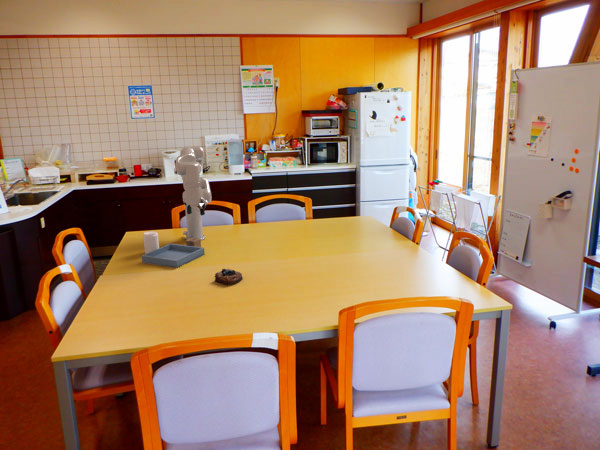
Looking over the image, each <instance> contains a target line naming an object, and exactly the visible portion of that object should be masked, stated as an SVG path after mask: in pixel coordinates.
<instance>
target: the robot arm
mask: <svg viewBox="0 0 600 450" xmlns="http://www.w3.org/2000/svg"><path fill="white" fill-rule="evenodd" d="M204 164H205V151H204V149H203V147H202V146H185V147H182V149H180V155H178V156H177V157H176V158H175V170H176V174H178V175H177V176H181V179H182V185H183V189H184V191H183V192H182V201H183V205H184V210H185V221H186V222H185V223H186V230H184V231H183V232H182V235H183V236H185V238H184V239H185V241H186V240H188V239H191V238H197V239H200V240H201V241H203V240H204V239H206V235H205V234H204V231H203V219H202V216H204V215H205V214H206V212H205V208H206V207H207V205H208V204H211V202H212V198H213V197H212V191H211V186H210V182H209V179H208V178H207V177H206V176H200V174H201V172H202V167H203V165H204Z"/></svg>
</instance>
